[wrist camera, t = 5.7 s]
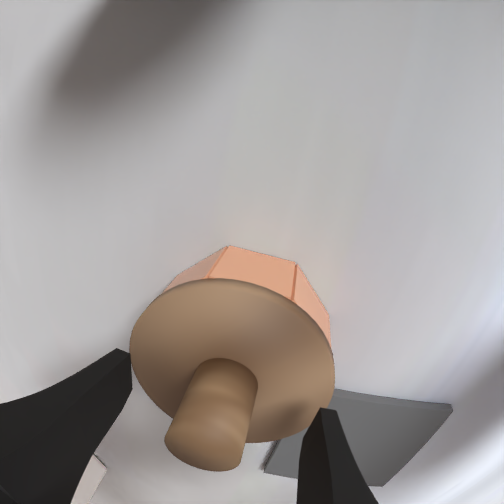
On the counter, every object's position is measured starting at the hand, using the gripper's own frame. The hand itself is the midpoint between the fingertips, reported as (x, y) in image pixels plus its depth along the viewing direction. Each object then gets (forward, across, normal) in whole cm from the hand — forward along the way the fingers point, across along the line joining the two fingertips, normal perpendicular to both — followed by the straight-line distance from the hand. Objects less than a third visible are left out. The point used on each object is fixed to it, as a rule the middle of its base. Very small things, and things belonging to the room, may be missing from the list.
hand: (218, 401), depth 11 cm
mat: (+5, -9, +8) cm, 13 cm away
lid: (+2, 0, 0) cm, 2 cm away
